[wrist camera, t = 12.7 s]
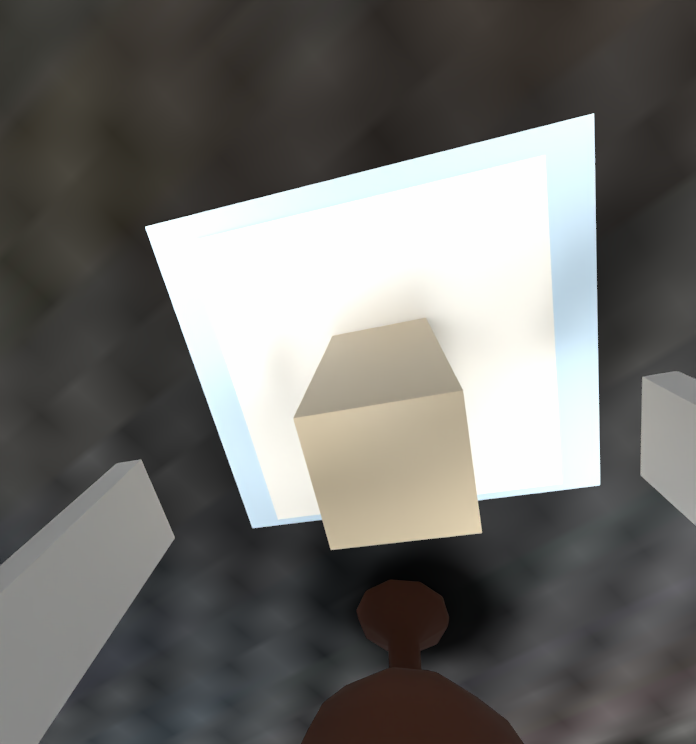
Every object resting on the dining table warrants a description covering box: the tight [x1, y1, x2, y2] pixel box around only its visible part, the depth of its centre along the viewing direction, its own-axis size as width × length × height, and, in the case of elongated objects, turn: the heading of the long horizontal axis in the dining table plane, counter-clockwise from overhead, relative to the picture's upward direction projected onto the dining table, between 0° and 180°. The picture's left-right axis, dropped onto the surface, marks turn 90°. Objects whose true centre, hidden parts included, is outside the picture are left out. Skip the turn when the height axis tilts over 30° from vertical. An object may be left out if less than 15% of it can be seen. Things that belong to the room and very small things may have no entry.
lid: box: [187, 155, 562, 550], centre depth 14 cm, size 14×14×9 cm
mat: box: [145, 113, 600, 528], centre depth 18 cm, size 18×16×1 cm
